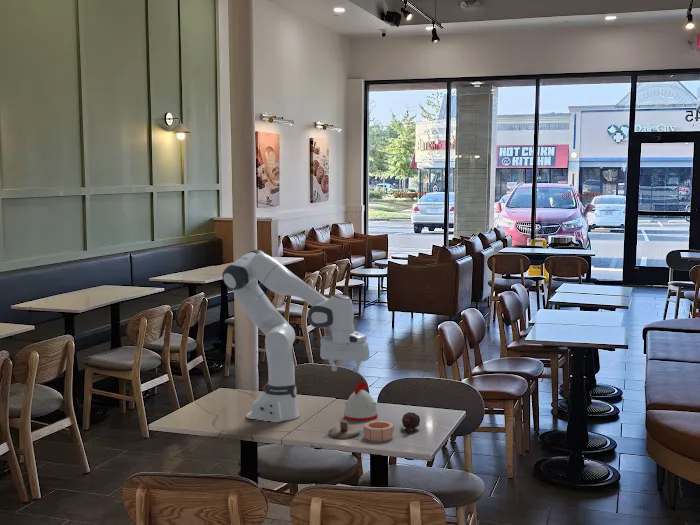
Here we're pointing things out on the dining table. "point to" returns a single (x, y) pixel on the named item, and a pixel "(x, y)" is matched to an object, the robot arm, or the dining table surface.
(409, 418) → the icecream
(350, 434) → the lid
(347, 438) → the mat
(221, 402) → the dining table surface
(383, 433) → the bowl
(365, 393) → the kitchen timer
